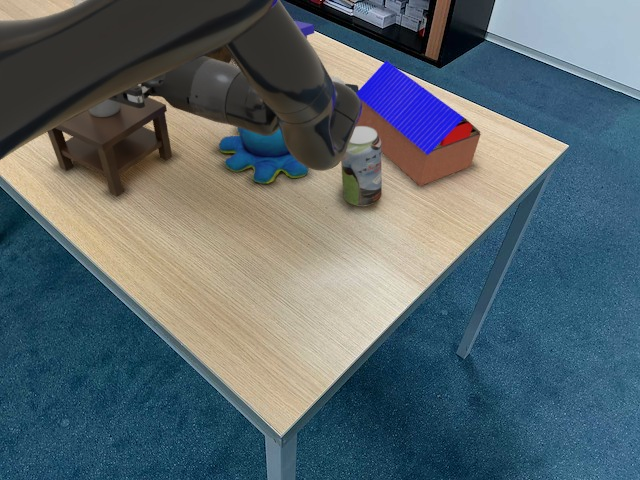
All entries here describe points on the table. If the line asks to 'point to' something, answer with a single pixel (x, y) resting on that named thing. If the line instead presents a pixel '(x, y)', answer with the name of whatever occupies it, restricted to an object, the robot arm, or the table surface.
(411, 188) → the table surface
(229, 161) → the plush toy
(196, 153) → the table surface
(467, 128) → the house
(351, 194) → the beverage can
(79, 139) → the plant stand
